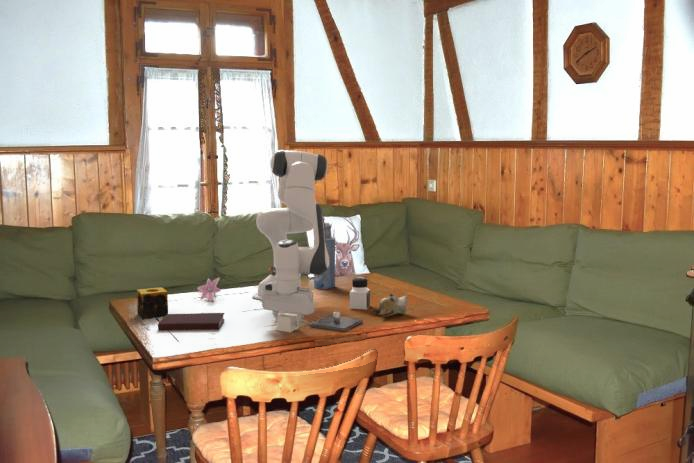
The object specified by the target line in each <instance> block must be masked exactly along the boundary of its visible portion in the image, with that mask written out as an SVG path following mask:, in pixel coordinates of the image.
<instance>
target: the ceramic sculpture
mask: <svg viewBox="0 0 694 463" xmlns="http://www.w3.org/2000/svg"><path fill="white" fill-rule="evenodd" d="M407 308H408V296H407V294H406V295H404V296H401V297H397V295H395V294H391V293H390V294H389V295H388V296H387V297H384V298H381V299H380V301H379V303H378V305H376V306H375V307H373V308H368V309H367V311H368V312H371V313H374V314H378V316H380V317H382V318H388V317H393V316H395V315H397V314H398V315H406V312H407Z"/></svg>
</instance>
